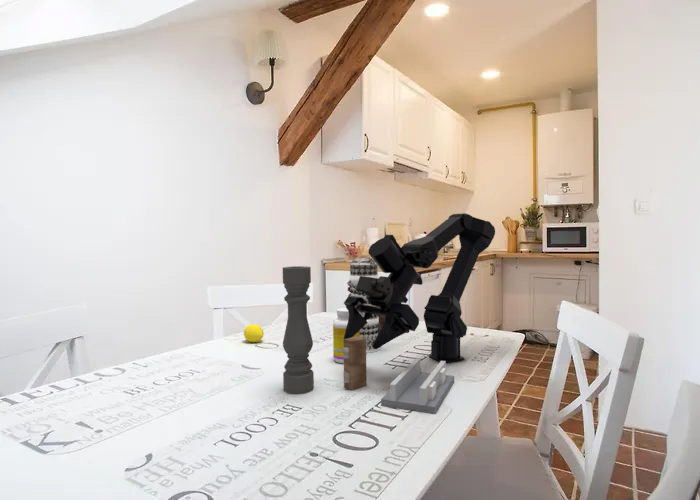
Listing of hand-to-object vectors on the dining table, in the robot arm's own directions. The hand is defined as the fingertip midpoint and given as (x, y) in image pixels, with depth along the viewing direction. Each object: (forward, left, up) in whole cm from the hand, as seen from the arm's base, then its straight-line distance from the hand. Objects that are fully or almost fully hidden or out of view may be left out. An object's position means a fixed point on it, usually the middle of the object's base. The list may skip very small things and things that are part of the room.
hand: (359, 343), depth 92 cm
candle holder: (+12, -4, -9) cm, 15 cm away
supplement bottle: (-5, -18, -9) cm, 20 cm away
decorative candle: (-14, -26, -9) cm, 30 cm away
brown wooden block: (+1, 0, -9) cm, 9 cm away
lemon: (+12, -48, -9) cm, 50 cm away
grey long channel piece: (-9, +9, -9) cm, 16 cm away
